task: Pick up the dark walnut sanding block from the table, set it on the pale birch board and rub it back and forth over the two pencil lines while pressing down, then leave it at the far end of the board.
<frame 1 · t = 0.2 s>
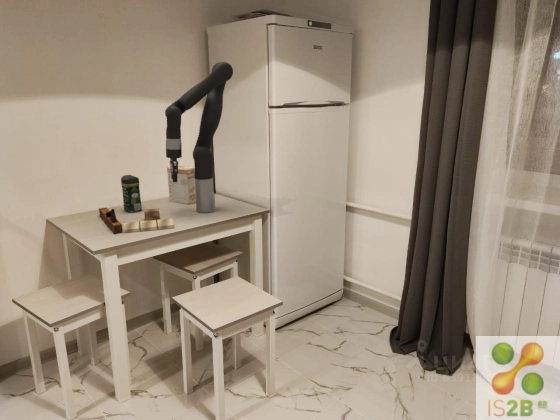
hand: (174, 180, 220), 17 cm above the table, fingers open, 8 cm apart
board: (148, 227, 203), on the table
sanding block: (152, 220, 214), on the table
hand plane: (110, 224, 209), on the table
coffeecake box: (183, 201, 248), on the table
coffee jar: (133, 210, 231), on the table
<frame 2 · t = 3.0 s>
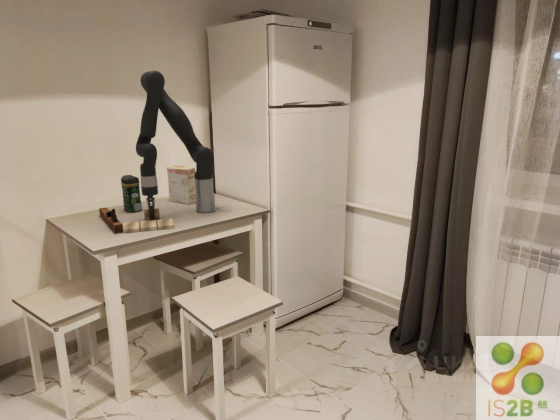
hand: (152, 218, 214), 0 cm above the table, fingers closed on sanding block, 4 cm apart
sanding block: (152, 219, 214), on the table, touching gripper
everything else where it was.
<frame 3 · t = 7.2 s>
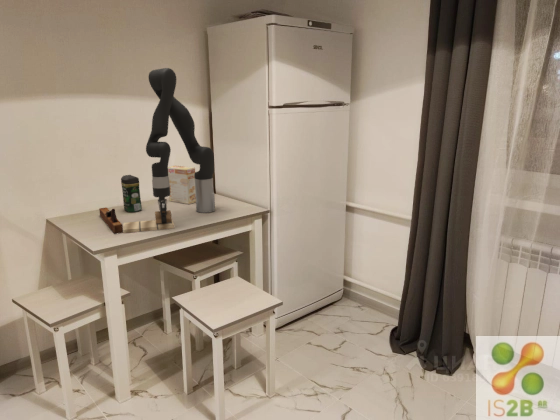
hand: (163, 221, 205), 2 cm above the table, fingers closed on sanding block, 4 cm apart
sanding block: (163, 222, 205), point 1 cm above the table, touching board, gripper
everything else where it was.
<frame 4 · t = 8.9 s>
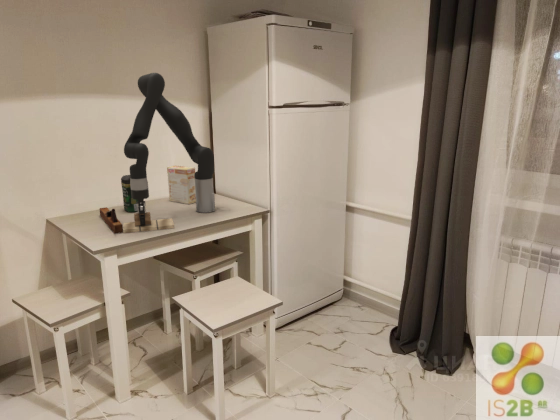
hand: (142, 223, 202), 2 cm above the table, fingers closed on sanding block, 4 cm apart
sanding block: (143, 224, 202), point 2 cm above the table, touching gripper
everything else where it was.
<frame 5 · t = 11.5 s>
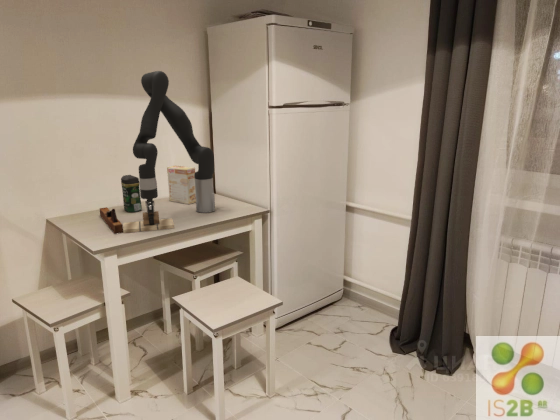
hand: (151, 223, 203), 2 cm above the table, fingers closed on sanding block, 4 cm apart
sanding block: (151, 223, 203), point 2 cm above the table, touching gripper
everything else where it was.
when the fingers open (2 cm above the table, at t = 14.8 s): sanding block stays where it is, resting on board.
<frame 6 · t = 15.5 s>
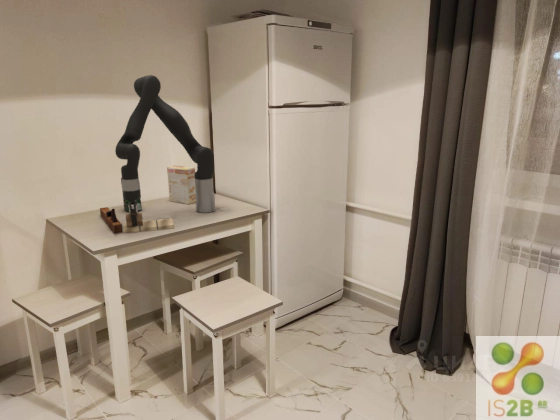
hand: (134, 223, 201), 2 cm above the table, fingers open, 8 cm apart
sanding block: (134, 225, 201), point 1 cm above the table, touching board
everything else where it was.
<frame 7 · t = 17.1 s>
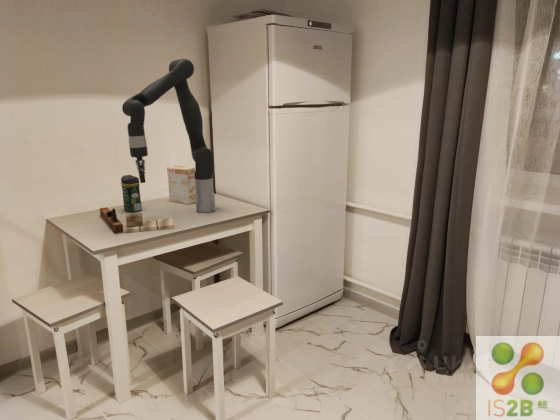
hand: (142, 180, 203), 21 cm above the table, fingers open, 8 cm apart
hand plane: (111, 224, 209), on the table, touching board
everything else where it was.
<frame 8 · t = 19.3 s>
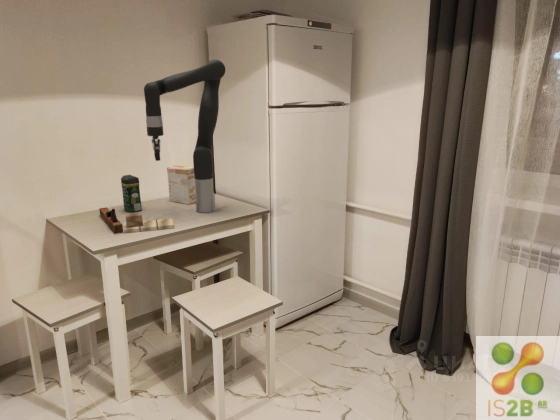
hand: (157, 159, 215), 28 cm above the table, fingers open, 8 cm apart
hand plane: (111, 224, 209), on the table
everything else where it was.
at the end: sanding block inside the target area on the board (0.0 cm from its centre), point 1.5 cm above the board's base; sanding block tilted 0°; the gripper is holding nothing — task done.
